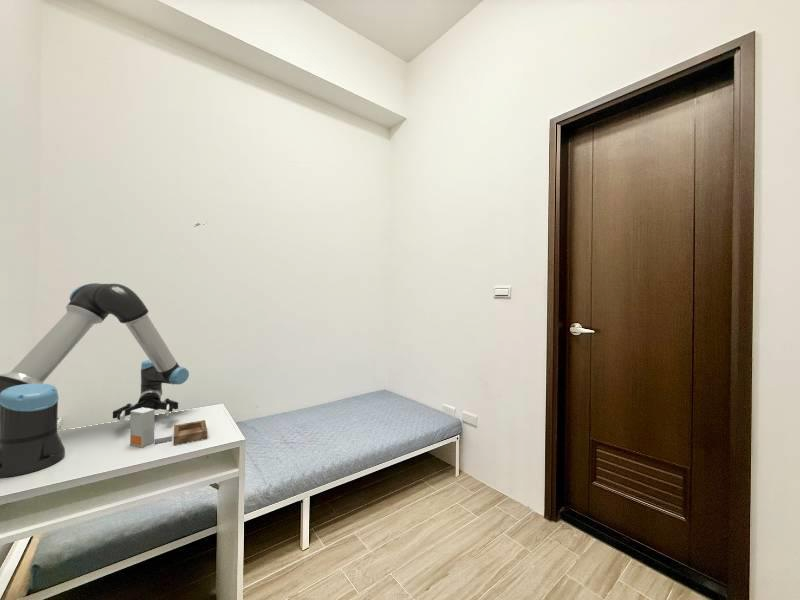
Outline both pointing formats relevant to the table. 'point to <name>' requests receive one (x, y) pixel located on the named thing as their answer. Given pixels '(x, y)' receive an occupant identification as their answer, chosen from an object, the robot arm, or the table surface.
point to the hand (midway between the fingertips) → (145, 416)
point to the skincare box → (142, 427)
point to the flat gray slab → (163, 440)
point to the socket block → (190, 432)
